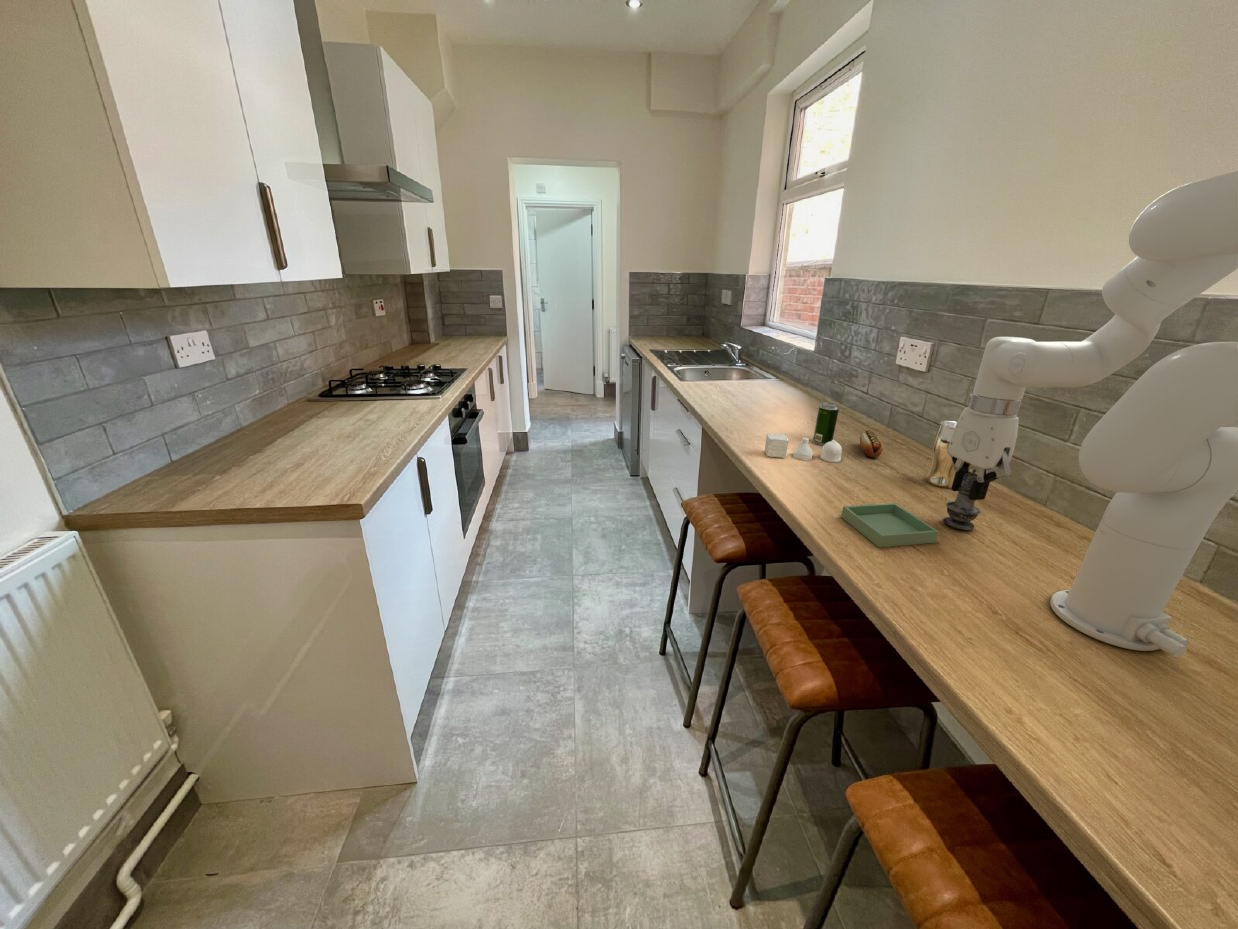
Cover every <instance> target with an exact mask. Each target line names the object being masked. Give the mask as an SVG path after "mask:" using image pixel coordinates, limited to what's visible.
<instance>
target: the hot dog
mask: <svg viewBox="0 0 1238 929" xmlns="http://www.w3.org/2000/svg"><path fill="white" fill-rule="evenodd" d="M859 444H860V445H859V446H860V449H861V451H862V452H863V453H864V454H865V455H866V456H867V457H870V458H878V457H880V456H881V454H882V452H883V450H884V442H883V441H882V440H881V437H880V436H879V435H878V434H877V433H876V432H873V431H872V430H866V431H863V432H861V433H860V435H859Z"/></svg>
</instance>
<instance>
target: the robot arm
mask: <svg viewBox="0 0 1238 929" xmlns="http://www.w3.org/2000/svg"><path fill="white" fill-rule="evenodd" d="M1128 245H1129V248H1130V250H1131V252H1132V253H1133V254H1134V255H1135V256H1136V257H1134V258H1133V259H1132V260H1131V261H1130V262H1128V263H1127V264H1126V265H1124V266H1123V267H1122V268H1120V269H1119V270H1118V271H1117V272H1115V274H1113V275H1112V276H1111V277H1109V278H1108V279H1107V280H1106V281H1105V283H1104V284H1103V287H1102V289H1101V298H1102V299H1103V301H1104V303H1105V305H1106V306H1107V308H1108V309H1109V310H1110V311H1111V313H1113V317H1111V319H1109V321H1107V323H1105V324H1104V325H1103V326H1101V327H1100V328H1099V329H1097V330H1096V331H1095V332H1093V333H1092V334H1091V335H1089V336H1088V337H1086V338H1085V339H1083V340H1081V341H1064V340H1063V341H1061V340H1059V341H1036V340H1034V339H1032V338H1026V337H1017V336H995V337H993V338H990V339H989V340H988V341H987V343H986V344H985V347H984V350H983V355H982V358H981V361H980V365H979V369H978V372H977V375H976V380H975V383H974V386H973V390H972V393H970V394H969V395H968V400H969V404H968V406H966V407H964V408H963V410H962V412H961V413H960V415H959V417H958V419H957V421H956V422H957V424H956V426H955V429H954V431H953V434H952V437H951V440H950V443H949V447H948V450H947V452H948V454H949V455H950V457H951V458H952V461H953V463H954V471H955V472H956V473H955V477H954V480H953V483H952V487H951V488H950V490H951V491H952V492H959V490H958V488H959V487H961V483H962V480H963V477H964V475H965V474H966V473H971V472H972V471H970V470H971V468H972V467H973V466H975V467H977V468H978V471H977V474H978V476H977V480H975V481H973V484H972V487H971V490H970V494H969V499H970V500H975V501H982V500H985V499H986V496H987V493H988V490H989V487H990V483H993V482H995V481H996V480H998V479H1000V478H1005V477H1010V476H1012V470H1011V469H1012V468H1011V464H1010V463H1011V461H1012V458H1013V454H1014V452H1015V448H1016V443H1017V438H1018V434H1019V425H1020V424H1019V423H1020V422H1019V421H1020V417H1019V416H1018V414H1019V411H1020V406H1021V404H1022V401H1023V398H1024V395H1025V393H1026V392H1025V391H1026V389H1027V388H1029V389H1049V388H1082V387H1083V388H1084V387H1087V386H1090V385H1093V384H1095V383H1097V382H1099V381H1102V380H1103V379H1106V378H1107V377H1109V376H1111V375H1113V374H1114V373H1116V372H1118V371H1119V370H1120V369H1122V368H1123V367H1125V366H1126V365H1128V364H1130V363H1132V362H1133V361H1134V360H1135V359H1137V358H1138V357H1139V356H1141V354H1143V353H1144V352H1145V351H1146V350H1147V348H1148V347H1149V346H1150V344H1151V343H1152V341H1153V340H1154V339H1155V337H1156V336H1157V334H1158V332H1159V330H1160V327H1161V324H1162V322H1163V320H1164V319H1166V318H1167V317H1169V316H1170V315H1171V314H1173V313H1174V312H1176V311H1177V310H1178V309H1181V307H1183V306H1185V305H1186V304H1187V303H1189V302H1191V301H1192V300H1193V299H1195V298H1197V297H1198V296H1199V295H1201V294H1202V293H1204V292H1205V291H1207V290H1208V289H1210V288H1211V287H1213V286H1214V285H1216V284H1217V283H1219V282H1220V281H1222V280H1223V279H1225V278H1226V277H1227V276H1229V275H1230V274H1232V273H1234V272H1235V271H1236V270H1238V170H1235V171H1231V172H1227V173H1222V174H1218V175H1215V176H1211V177H1206V178H1202V179H1198V180H1195V181H1191V182H1187V183H1185V184H1182V185H1179V186H1177V187H1174V188H1173V189H1171V190H1169V191H1166V192H1165V193H1164V194H1162V195H1160V196H1159V197H1157V198H1156V199H1154V200H1153V201H1152V202H1151V203H1149V204H1148V205H1147V206H1146V207H1145V208H1143V210H1142V211H1141V212H1140V213H1139V215H1138V216H1137V217H1136V219H1135V220H1134V222H1133V224H1132V225H1131V227H1130V231H1129V234H1128ZM1078 465H1079V469H1080V472H1081V473H1082V475H1083V477H1085V479H1087V481H1088V482H1090V483H1091V484H1093V485H1094V486H1096V487H1097V488H1098V487H1099V488H1100V489H1103V490H1106V491H1110V492H1114V493H1115V494H1114V495H1113V497H1112V498H1111V500H1110V501H1109V503H1108V505H1107V506H1106V508H1105V510H1104V512H1103V515H1102V517H1101V518H1100V521H1099V524H1098V526H1097V529H1096V531H1095V533H1094V534H1093V537H1092V539H1091V542H1090V544H1089V546H1088V548H1087V550H1086V553H1085V555H1084V557H1083V560H1082V562H1081V564H1080V566H1079V569H1078V570H1077V573H1076V576H1075V578H1074V579H1073V582H1072V584H1071V586H1070V589H1064V590H1063V589H1062V590H1059V591H1056V592H1054V593H1053V594H1052V595H1051V597H1050V600H1049V605H1050V607H1051V610H1052V611H1053V612H1054V613H1055V615H1057V616H1058V618H1059V619H1061V620H1062V621H1063V622H1064V623H1066V624H1067V625H1069V626H1070V627H1072V628H1074V629H1075V630H1077V631H1078V632H1080V633H1083V634H1084V635H1087V636H1088V637H1091V638H1093V639H1095V640H1097V641H1100V642H1103V643H1106V644H1109V645H1112V646H1115V647H1118V648H1122V649H1127V650H1133V651H1138V652H1139V651H1140V652H1152V651H1158V650H1162V651H1163V652H1164V653H1166V654H1168V655H1169V656H1171V657H1173V658H1175V659H1178V658H1181V657H1182V656H1184V655H1185V654H1186V653H1187V650H1188V647H1187V646H1188V645H1189V642H1190V640H1189V639H1188V638H1186V637H1185V636H1182V635H1180V634H1179V633H1176V632H1175V631H1173V630H1171V629H1170V627H1169V626H1168V625H1169V623H1170V621H1171V620H1172V616H1170V615H1168V614H1167V613H1165V612H1164V611H1165V609H1166V607H1167V605H1168V604H1169V601H1170V599H1171V597H1172V596H1173V594H1174V593H1175V590H1176V588H1177V587H1178V585H1179V583H1180V581H1181V579H1182V577H1183V575H1184V574H1185V572H1186V570H1187V568H1188V566H1189V565H1190V563H1191V561H1192V559H1193V557H1194V556H1195V553H1196V552H1197V549H1198V548H1199V547H1200V546H1201V543H1202V541H1203V539H1204V537H1205V536H1206V534H1207V532H1208V530H1209V529H1210V527H1211V526H1212V525H1213V524H1212V523H1213V522H1214V521H1215V519H1216V518H1217V516H1218V515H1219V513H1220V512H1221V510H1222V509H1223V508H1224V507H1225V505H1226V504H1227V503H1229V502H1228V501H1229V500H1230V499H1231V498H1232V497H1233V496H1234V495H1235V494H1236V493H1237V491H1238V341H1211V342H1204V343H1203V342H1202V343H1198V344H1197V343H1196V344H1193V345H1189V346H1186V347H1183V348H1181V349H1178V350H1176V351H1174V352H1172V353H1170V354H1167V356H1165V357H1163V358H1161V359H1160V360H1159V361H1157V362H1156V363H1154V364H1153V365H1152V366H1150V367H1149V368H1148V369H1147V370H1146V371H1144V373H1143V374H1142V375H1141V376H1140V377H1138V379H1137V380H1136V381H1135V382H1133V384H1132V385H1131V386H1130V387H1129V388H1128V389H1127V391H1125V393H1124V394H1123V395H1122V396H1121V397H1119V399H1118V400H1117V401H1116V402H1115V403H1114V404H1113V405H1112V406H1111V407H1110V408H1109V409H1108V411H1106V413H1105V414H1104V415H1103V416H1102V417H1101V418H1100V419H1099V420H1098V421H1097V423H1096V424H1095V425H1094V426H1093V427H1092V428H1091V429H1090V430H1089V431H1088V433H1087V434H1086V436H1085V438H1084V439H1083V441H1082V443H1081V444H1080V448H1079V452H1078ZM997 468H998V469H997Z"/></svg>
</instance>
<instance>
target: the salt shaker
mask: <svg viewBox="0 0 1238 929" xmlns="http://www.w3.org/2000/svg"><path fill="white" fill-rule="evenodd" d="M970 472H971V473H966V474H965V475H964V477H963V480H962V483H961V487H959V488H958V490H959V491H957V492H958V493H957V496H956V498H955V500H954V501H948V502H946V503H945V506H946V513H947V514H948V516H947V517H944V518H943V522H944V524H946V525H948V526H950V527H952V528H955V529H959V530H965V531H971V530H973V529H974V528H975V525H974V523H972V521H974V520H976V519H977V517H978V516H979V515H980V514H981V510H980V509H979V508H978V507H977V506H976V505H975V502H976V500H970V499H969V494H970V490H971V487H972V484H973V481H975V480H977V476H978V473H976V472H977V470H976V468H974V469H973V470H972V471H970Z"/></svg>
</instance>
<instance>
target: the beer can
mask: <svg viewBox="0 0 1238 929" xmlns="http://www.w3.org/2000/svg"><path fill="white" fill-rule="evenodd" d="M839 411H840V408H839V404H838V403H837V402H831V401H822V402H820V405H819V406H818V410H817V416H816V420H815V426H814V433H813V438H812V439H813V443H814V444H815V445H819V446H822V447H823V446H824V445H825V444H826V443H827V442H830V441H832V440H834V436H835V431H836V426H837V420H838V415H839Z"/></svg>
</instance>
